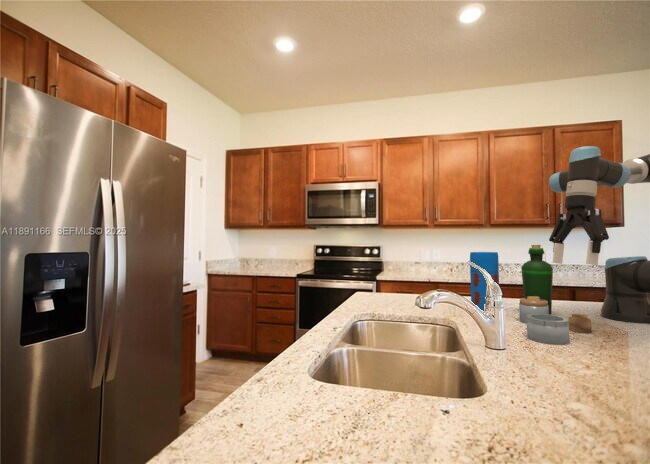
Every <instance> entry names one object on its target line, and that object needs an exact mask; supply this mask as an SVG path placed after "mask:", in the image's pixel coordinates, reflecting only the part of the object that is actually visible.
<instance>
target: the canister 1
mask: <svg viewBox="0 0 650 464" xmlns="http://www.w3.org/2000/svg"><path fill="white" fill-rule="evenodd" d="M518 305H519V306H518V307H519V309H518V310H519V313H518V314H519V322H520V323H523V324H527V319H526V315H528V314H549V308H548V301H547V300H544V299H539V297H538V296H527V298H524V297H520V298H519V302H518Z"/></svg>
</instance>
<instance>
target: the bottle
mask: <svg viewBox="0 0 650 464" xmlns="http://www.w3.org/2000/svg"><path fill="white" fill-rule="evenodd" d="M541 246H542V245H541V244H531V247H528V248H529V249H528V253H527V254H529V257H530V260H527V261H526V262H524V263H523V265H522V266H521V267H520V269H521V277H522V278H521V279H522V289H523V298H527V296H538V297H539V299H544V300H547V301H548V308H549V315H552V304H553V299H552V298H553V282H554V281H553V280H554V279H553V278H554V277H553V275H554V268H553V267H552V265H551V264H550V263H548V262H547V261H545V260H543V256H544V255H545V250H544V247H541Z"/></svg>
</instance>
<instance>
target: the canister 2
mask: <svg viewBox="0 0 650 464" xmlns="http://www.w3.org/2000/svg"><path fill="white" fill-rule="evenodd" d="M526 319H527V323H526V338H527V339H528V340H531V341H534V342H536V343H540V344H547V345H558V346H562V345H568V344H570V342H571V341H570V330H569V320H568V317H565V316H564V317H563V316H560V315H555V314H551V315H549V314H528V315H526Z"/></svg>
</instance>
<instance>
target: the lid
mask: <svg viewBox="0 0 650 464" xmlns="http://www.w3.org/2000/svg"><path fill="white" fill-rule="evenodd" d="M567 319H568V320H569V332H573V333H578V334H579V333H580V334H592V331H593V329H592V326H593V325H592V319H591V318H588V314H582V313H581V314H580V313H571V316H569V317H567Z"/></svg>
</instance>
